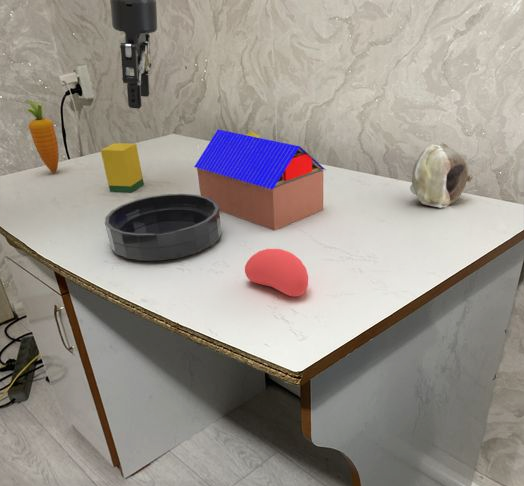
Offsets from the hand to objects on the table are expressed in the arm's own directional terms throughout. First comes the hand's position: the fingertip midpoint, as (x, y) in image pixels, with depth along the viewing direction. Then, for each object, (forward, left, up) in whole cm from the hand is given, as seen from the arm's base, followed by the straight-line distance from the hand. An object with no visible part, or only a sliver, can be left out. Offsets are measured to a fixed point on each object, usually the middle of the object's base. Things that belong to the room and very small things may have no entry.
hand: (139, 101), depth 99 cm
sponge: (-5, +1, -16) cm, 17 cm away
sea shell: (+47, -29, -16) cm, 57 cm away
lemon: (+21, +1, -16) cm, 26 cm away
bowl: (+1, -29, -16) cm, 33 cm away
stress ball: (+14, -50, -16) cm, 54 cm away
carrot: (-21, +19, -16) cm, 33 cm away
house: (+18, -20, -16) cm, 31 cm away
